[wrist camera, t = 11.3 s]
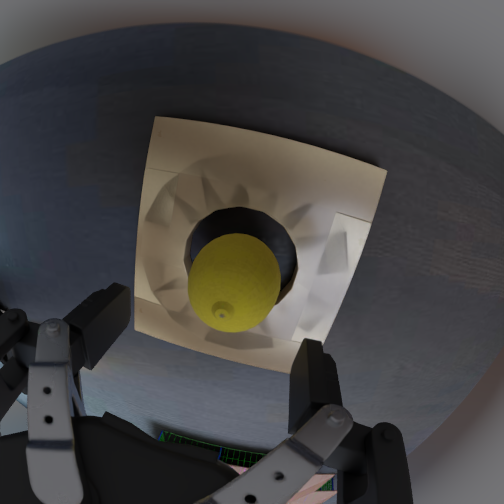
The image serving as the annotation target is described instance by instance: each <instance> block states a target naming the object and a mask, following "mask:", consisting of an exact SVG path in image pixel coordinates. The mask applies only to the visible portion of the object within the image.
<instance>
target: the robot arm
mask: <svg viewBox="0 0 504 504" xmlns="http://www.w3.org/2000/svg"><path fill="white" fill-rule="evenodd" d="M130 316H131V303H130V288H129V287H126V286H124V285H121V284H118V283H113V284H111V285H110V286H109V287H108V288H107V289H106V290H104V289H101V290H99V291H96V292H94V293H92V294H91V295H90V296H89V297H87V299H85V300H84V301H83V302H82V303H81V304H79V305H78V306H77V307H76V308H75V309H73V310H72V311H71V312H70V313H69V314H68V315H67V316H65V317H64V318H63V319H62V320H61V319H57V318H53V319H48V320H46V321H44V322H43V323H42V324H37V323H33V322H29V321H28V319H27V316H26V313H25V312H24V311H23V310H21V309H10V310H7V311H6V312H4V313H3V314H2V315H1V316H0V361H1V359H2V358H3V357H4V356H5V355H6V354H7V353H8V352H9V351H10V350H11V351H12V353H13V356H12V357H11V358H10V359H9V360H8V361H7V362H6V363H5V364H4V366H3V367H2V368H1V369H0V421H1V420H2V418H3V417H4V415H5V414H6V413H7V411H8V410H9V408H10V407H11V406H12V404H13V403H14V402H15V400H16V399H17V398H18V396H19V395H20V394H21V392H22V391H23V390H24V388H25V387H26V386H27V384H28V395H27V414H28V430H27V431H23V432H18V433H14V434H9V435H4V436H1V433H0V504H285V503H287V502H288V501H289V500H290V499H291V498H292V497H293V496H294V495H295V494H296V493H297V492H298V491H299V490H300V489H301V488H302V487H303V486H304V485H305V484H306V483H307V482H308V481H309V480H310V479H311V478H312V477H313V476H314V475H315V473H316V472H317V471H318V470H319V469H320V468H321V467H322V465H325V466H328V467H331V468H334V469H337V504H413V498H412V489H411V482H410V475H409V469H408V463H407V458H406V452H405V447H404V442H403V437H402V434H401V432H400V430H399V429H398V428H397V427H396V426H394V425H393V424H391V423H387V422H382V423H378V424H377V425H375V426H374V427H373V428H370V427H367V426H364V425H361V424H358V423H356V422H354V421H353V418H352V415H351V414H350V412H349V411H348V410H347V409H345V408H344V407H343V404H342V398H341V392H340V386H339V381H338V374H337V368H336V363H335V361H334V360H333V358H332V357H331V355H330V354H326V353H323V346H322V342H321V341H318V340H313V339H309V338H304V339H303V341H302V343H301V345H300V348H299V350H298V352H297V354H296V357H295V359H294V361H293V363H292V366H291V371H290V391H289V423H288V434H293V436H291V437H290V438H286V439H285V440H284V441H283V442H281V443H280V444H279V445H278V446H277V447H275V448H274V449H273V450H272V451H271V452H269V453H268V454H267V455H266V456H264V457H263V458H262V459H261V460H259V461H258V462H257V463H255V464H254V465H253V466H251V467H250V468H249V469H247V470H246V471H245V472H243V473H242V474H241V475H240V474H239V473H238V472H237V471H236V470H234V469H233V468H232V467H230V466H229V465H227V464H226V463H224V462H222V461H220V460H218V455H219V452H216V451H212V450H208V449H204V448H201V447H197V446H194V445H190V444H182V443H173V442H165V441H159V440H156V439H154V438H152V437H151V436H149V435H148V434H146V433H145V432H143V431H142V430H140V429H139V428H138V427H136V426H135V425H133V424H132V423H130V422H128V421H126V420H123V419H121V418H119V417H117V416H115V415H113V414H111V413H109V412H107V411H106V412H105V413H104V415H103V417H97V416H87V415H86V411H85V407H84V401H83V394H82V385H81V376H80V371H79V370H80V369H81V368H82V367H83V366H84V367H85V368H87V369H89V370H92V369H93V368H94V366H95V365H96V364H97V363H98V361H99V360H100V359H101V358H102V356H103V355H104V354H105V353H106V351H107V350H108V349H109V348H110V346H111V345H112V344H113V343H114V342H115V340H116V339H117V338H118V337H119V335H120V334H121V333H122V332H123V331H124V329H125V328H126V327H127V325H128V323H129V321H130Z"/></svg>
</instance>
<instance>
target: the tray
mask: <svg viewBox="0 0 504 504" xmlns="http://www.w3.org/2000/svg"><path fill="white" fill-rule="evenodd" d="M386 174H387V170H384V169H382V168H379V167H376V166H374V165H371V164H368V163H365V162H363V161H360V160H357V159H354V158H351V157H348V156H345V155H342V154H339V153H336V152H333V151H329V150H326V149H323V148H319V147H316V146H312V145H309V144H305V143H302V142H298V141H294V140H290V139H286V138H282V137H278V136H274V135H270V134H265V133H261V132H256V131H252V130H247V129H242V128H237V127H231V126H226V125H220V124H214V123H208V122H201V121H194V120H186V119H178V118H170V117H160V116H155V120H154V125H153V130H152V134H151V139H150V145H149V150H148V156H147V162H146V168H145V174H144V180H143V188H142V195H141V203H140V212H139V222H138V233H137V246H136V263H135V292H134V296H135V330H137V331H139V332H142V333H145V334H148V335H150V336H153V337H156V338H159V339H162V340H165V341H168V342H171V343H174V344H177V345H180V346H183V347H186V348H189V349H192V350H196V351H199V352H202V353H206V354H209V355H213V356H216V357H220V358H224V359H227V360H231V361H235V362H239V363H243V364H247V365H251V366H256V367H260V368H265V369H269V370H274V371H279V372H284V373H289V374H290V371H291V366H292V363H293V361H294V359H295V357H296V354H297V352H298V350H299V348H300V345H301V343H302V341H303V339H304V338H309V339H313V340H318V341H321V342H322V345H323V343H324V341H325V339H326V337H327V335H328V333H329V331H330V328H331V326H332V324H333V322H334V320H335V317H336V315H337V313H338V311H339V308H340V306H341V304H342V301H343V299H344V297H345V294H346V292H347V289H348V287H349V284H350V282H351V279H352V277H353V274H354V272H355V269H356V266H357V264H358V261H359V258H360V256H361V253H362V250H363V247H364V245H365V242H366V239H367V236H368V233H369V230H370V227H371V224H372V221H373V218H374V215H375V211H376V208H377V205H378V202H379V198H380V195H381V192H382V188H383V184H384V181H385V177H386ZM239 206H241V207H245V208H249V209H253V210H257V211H261V212H265V213H266V214H267V215H269V216H270V217H271V218H273V219H274V220H276V221H277V222H278V223H280V224H281V225H282V226H284V228H285V230H286V231H287V233H288V235H289V236H290V238H291V240H292V242H293V243H294V245H295V247H296V256H297V263H296V266H295V269H294V273H293V276H292V279H291V281H290V282H289V283H288V284H287V285H286V286H285V288H284V289H283V290H282V291H281V292H280V293H279V295H278V297H277V300H276V303H275V305H274V307H273V309H272V310H271V311H270V313H269V314H268V315H267V317H266V318H265V319H264V320H263V321H262V322H260V323H259V324H258V325H256V326H255V327H253V328H251V329H248V330H246V331H241V332H236V333H234V332H223V331H219V330H216V329H214V328H212V327H210V326H208V325H207V324H206V323H204V322H203V321H202V320H201V319H200V318H199V317H198V316H197V315H196V313H195V312H194V310H193V308H192V306H191V304H190V300H189V296H188V276H189V272H190V270H191V267H192V261H191V257H190V249H191V243H192V236H193V233H194V232H195V230H196V229H197V227H198V226H199V224H200V223H201V221H202V219H204V218H205V217H207V216H208V215H210V214H211V213H213V212H214V211H216V210H220V209H226V208H232V207H239Z"/></svg>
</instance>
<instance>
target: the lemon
mask: <svg viewBox="0 0 504 504" xmlns="http://www.w3.org/2000/svg"><path fill="white" fill-rule="evenodd" d="M280 282H281V275H280V270H279V265H278V262H277V260H276V258H275V256H274V254H273V252H272V251H271V250H270V249H269V248H268V247H267V246H266V244H265V243H263V242H262V241H260V240H259V239H257V238H255V237H252V236H250V235H247V234H239V233H234V234H227V235H223V236H221V237H218V238H216V239H214V240H212V241H211V242H210V243H208V244H207V245H206V246H205V247H203V248H202V249H201V251H200V252H199V254H198V255H197V257H196V258H195V259H194V261H193V264H192V267H191V270H190V272H189V276H188V296H189V300H190V304H191V306H192V308H193V310H194V312H195V313H196V315H197V316H198V317H199V318H200V319H201V320H202V321H203V322H204V323H206V324H207V325H208V326H210V327H212V328H214V329H216V330H219V331H223V332H234V333H236V332H241V331H246V330H248V329H251V328H253V327H255V326H256V325H258V324H259V323H260V322H262V321H263V320H264V319H265V318H266V317H267V315H268V314H269V313H270V311H271V310H272V309H273V307H274V305H275V303H276V300H277V297H278V295H279V292H280Z"/></svg>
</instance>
